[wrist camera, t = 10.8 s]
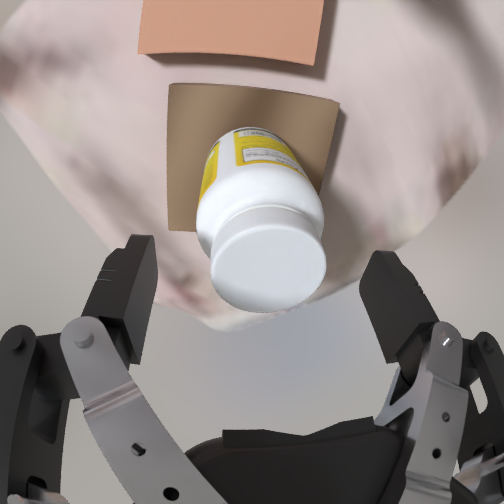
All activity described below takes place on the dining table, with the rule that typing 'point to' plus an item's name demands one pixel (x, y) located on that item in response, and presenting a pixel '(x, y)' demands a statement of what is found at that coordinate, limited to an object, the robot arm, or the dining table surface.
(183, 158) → the walnut mat
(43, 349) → the robot arm
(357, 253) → the dining table surface
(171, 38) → the terracotta tile
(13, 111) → the dining table surface
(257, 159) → the supplement bottle
